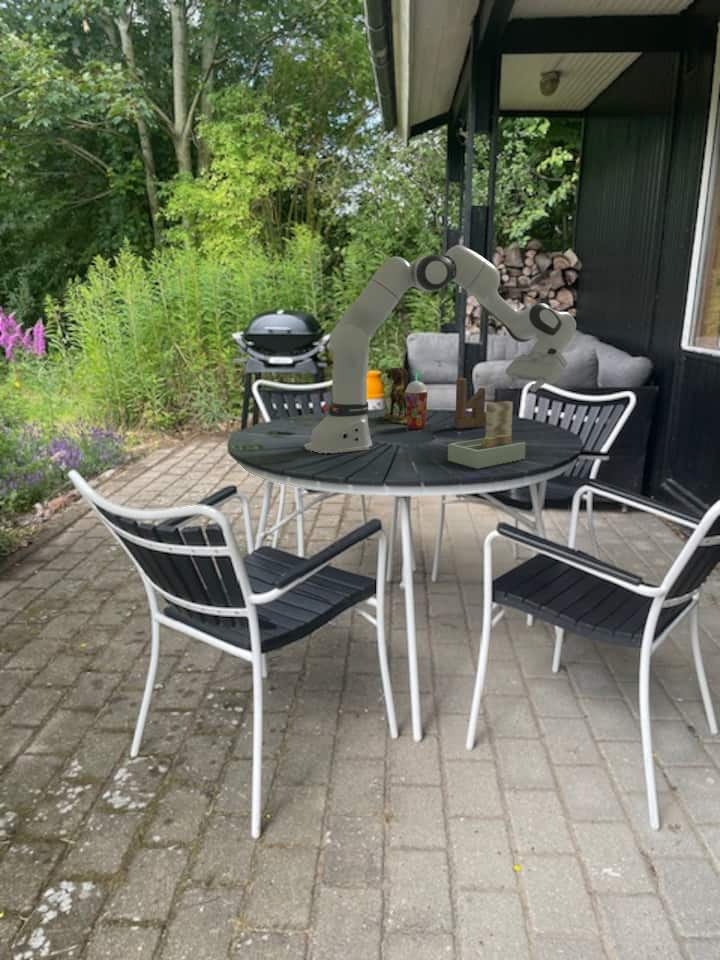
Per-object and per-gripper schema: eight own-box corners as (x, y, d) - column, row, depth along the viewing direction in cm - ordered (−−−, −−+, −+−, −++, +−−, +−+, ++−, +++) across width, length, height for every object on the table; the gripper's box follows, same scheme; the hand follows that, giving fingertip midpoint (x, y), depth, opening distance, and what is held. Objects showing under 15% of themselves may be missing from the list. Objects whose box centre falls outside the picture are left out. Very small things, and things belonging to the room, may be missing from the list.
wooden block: (484, 427, 258) (485, 377, 253) (458, 429, 254) (459, 379, 250) (479, 425, 261) (480, 376, 256) (453, 427, 258) (454, 378, 253)
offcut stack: (487, 464, 201) (488, 439, 199) (477, 462, 204) (478, 436, 202) (511, 460, 206) (512, 435, 204) (501, 457, 209) (502, 433, 207)
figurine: (407, 413, 288) (407, 364, 283) (422, 424, 265) (422, 370, 259) (376, 415, 287) (376, 365, 281) (388, 426, 263) (388, 371, 257)
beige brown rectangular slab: (490, 448, 222) (492, 404, 219) (485, 447, 224) (486, 403, 221) (511, 444, 227) (512, 401, 223) (505, 443, 229) (506, 400, 225)
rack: (477, 468, 197) (477, 451, 195) (447, 460, 207) (448, 443, 206) (524, 459, 207) (525, 442, 206) (494, 451, 217) (495, 436, 216)
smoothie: (427, 425, 261) (428, 371, 256) (427, 430, 253) (427, 374, 248) (405, 425, 262) (405, 372, 257) (404, 429, 254) (404, 374, 249)
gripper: (515, 348, 235) (493, 379, 232) (563, 351, 218) (540, 385, 216) (524, 360, 239) (502, 392, 236) (572, 364, 222) (549, 398, 219)
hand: (521, 389), depth 226 cm, fingers open, 8 cm apart
